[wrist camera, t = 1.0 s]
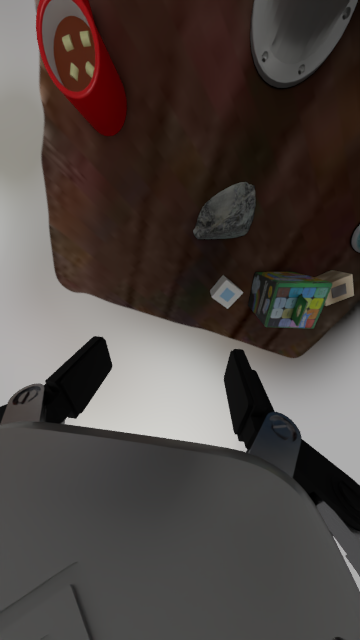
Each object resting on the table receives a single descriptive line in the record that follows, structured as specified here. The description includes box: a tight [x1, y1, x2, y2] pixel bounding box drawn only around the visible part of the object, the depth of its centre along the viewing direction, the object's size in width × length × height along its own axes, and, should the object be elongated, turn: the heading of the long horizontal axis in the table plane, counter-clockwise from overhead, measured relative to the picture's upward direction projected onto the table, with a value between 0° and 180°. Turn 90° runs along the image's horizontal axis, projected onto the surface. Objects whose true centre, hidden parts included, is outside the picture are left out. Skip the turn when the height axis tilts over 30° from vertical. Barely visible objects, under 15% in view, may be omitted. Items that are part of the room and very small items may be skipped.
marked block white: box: [210, 275, 243, 309], centre depth 35 cm, size 5×5×5 cm
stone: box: [193, 182, 256, 239], centre depth 27 cm, size 10×10×10 cm
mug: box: [36, 0, 127, 136], centre depth 20 cm, size 8×12×8 cm, turn 179°
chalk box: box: [248, 272, 333, 328], centre depth 30 cm, size 9×9×15 cm
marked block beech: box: [315, 270, 354, 306], centre depth 32 cm, size 5×5×5 cm
